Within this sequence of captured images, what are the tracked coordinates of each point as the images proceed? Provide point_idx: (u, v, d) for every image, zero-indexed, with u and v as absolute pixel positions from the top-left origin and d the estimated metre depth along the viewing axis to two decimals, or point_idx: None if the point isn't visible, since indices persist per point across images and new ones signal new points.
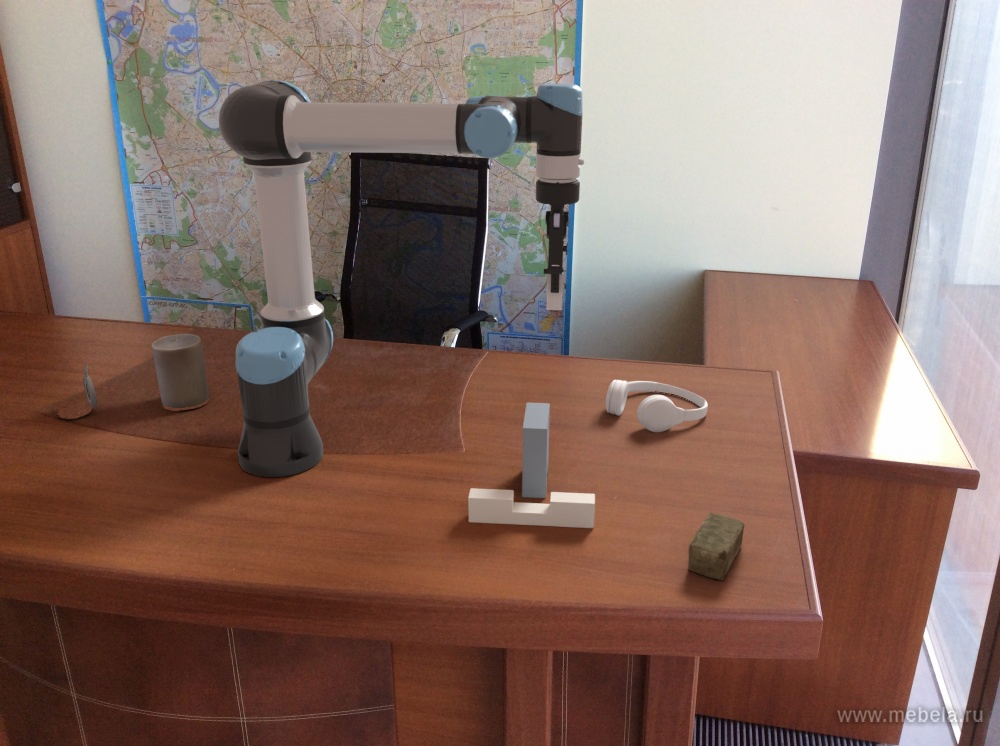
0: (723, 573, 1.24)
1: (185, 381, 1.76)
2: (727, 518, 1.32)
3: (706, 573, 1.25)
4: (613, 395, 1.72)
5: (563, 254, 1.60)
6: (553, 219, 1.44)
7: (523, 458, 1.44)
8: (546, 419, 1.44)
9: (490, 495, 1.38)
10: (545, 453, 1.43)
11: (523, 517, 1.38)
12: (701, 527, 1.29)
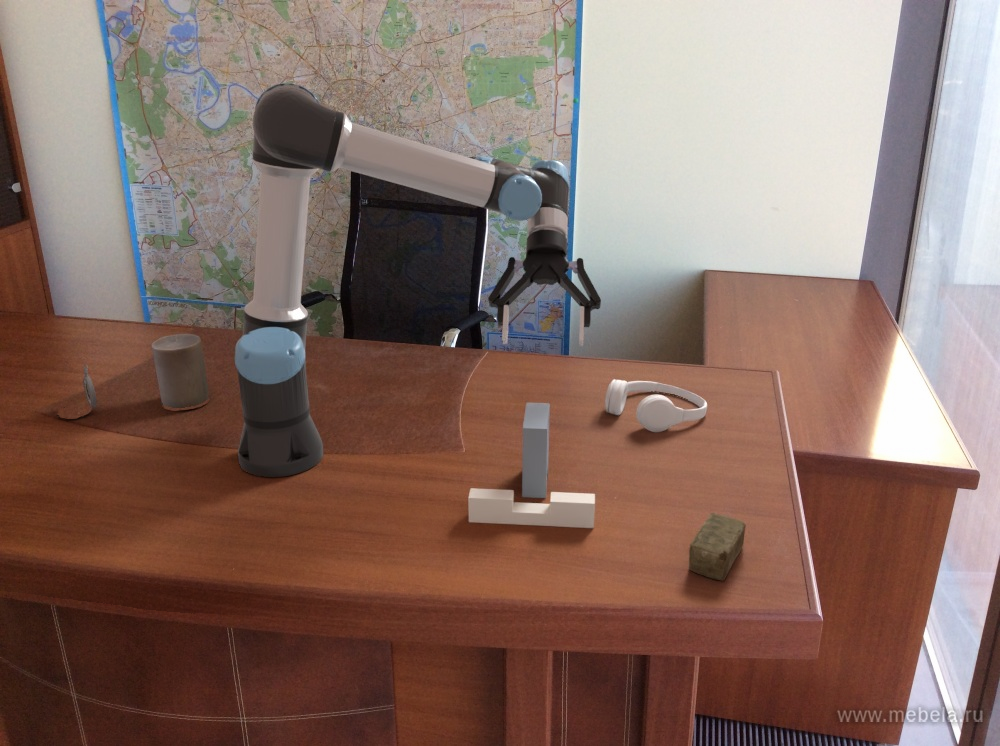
0: (724, 574, 1.24)
1: (185, 381, 1.76)
2: (728, 518, 1.32)
3: (707, 573, 1.25)
4: (612, 394, 1.73)
5: None
6: (583, 263, 1.59)
7: (523, 458, 1.44)
8: (546, 419, 1.44)
9: (490, 495, 1.38)
10: (545, 453, 1.43)
11: (523, 517, 1.38)
12: (702, 528, 1.29)
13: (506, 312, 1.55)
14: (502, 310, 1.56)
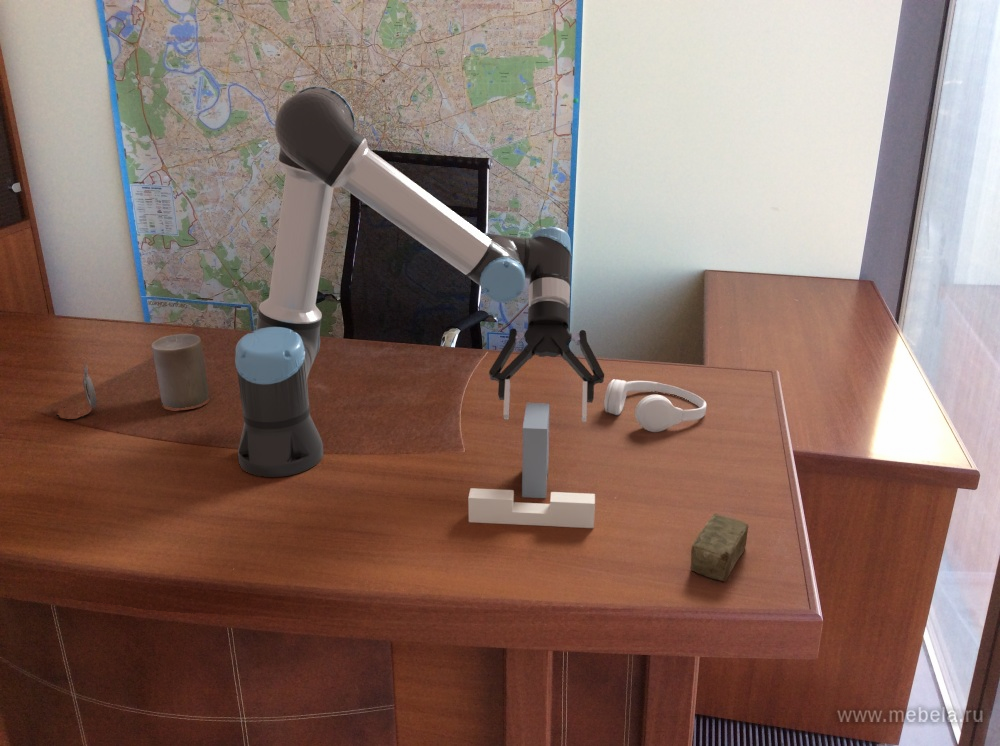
0: (725, 574, 1.24)
1: (185, 381, 1.76)
2: (731, 519, 1.32)
3: (708, 574, 1.25)
4: (611, 394, 1.73)
5: None
6: None
7: (523, 458, 1.44)
8: (546, 419, 1.44)
9: (490, 495, 1.38)
10: (545, 453, 1.43)
11: (523, 517, 1.38)
12: (704, 528, 1.29)
13: (507, 387, 1.52)
14: (503, 384, 1.53)
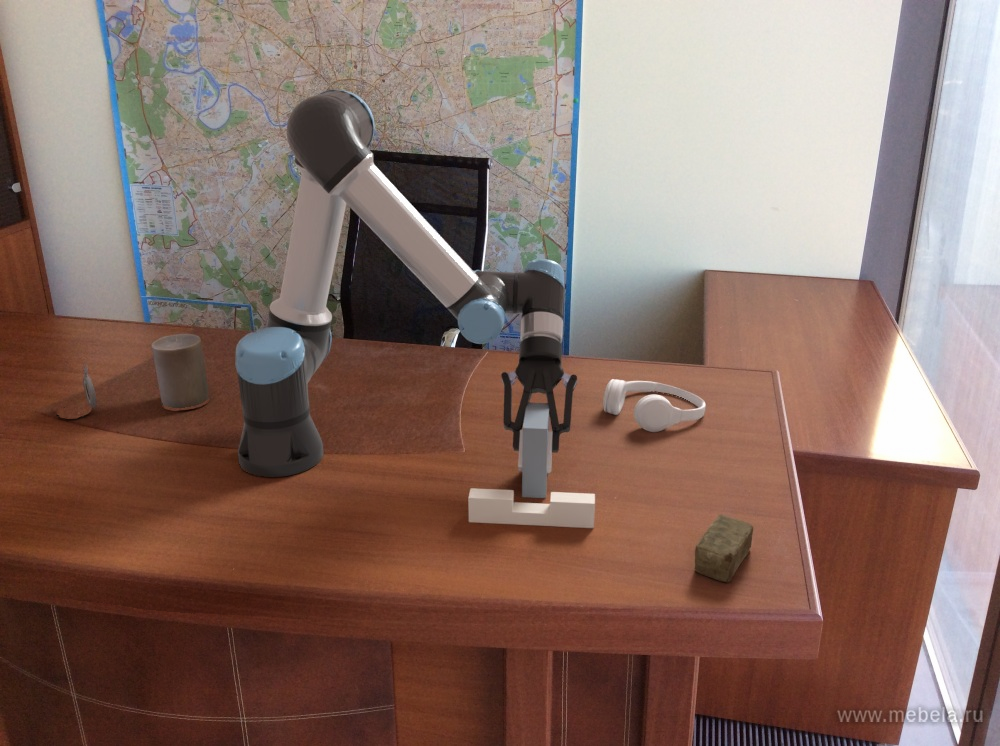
0: (729, 575, 1.24)
1: (185, 381, 1.76)
2: (736, 520, 1.31)
3: (712, 575, 1.25)
4: (610, 394, 1.73)
5: None
6: (576, 381, 1.50)
7: (523, 458, 1.44)
8: (546, 419, 1.44)
9: (490, 495, 1.38)
10: (545, 453, 1.43)
11: (523, 517, 1.38)
12: (709, 529, 1.29)
13: (522, 438, 1.46)
14: (518, 435, 1.47)
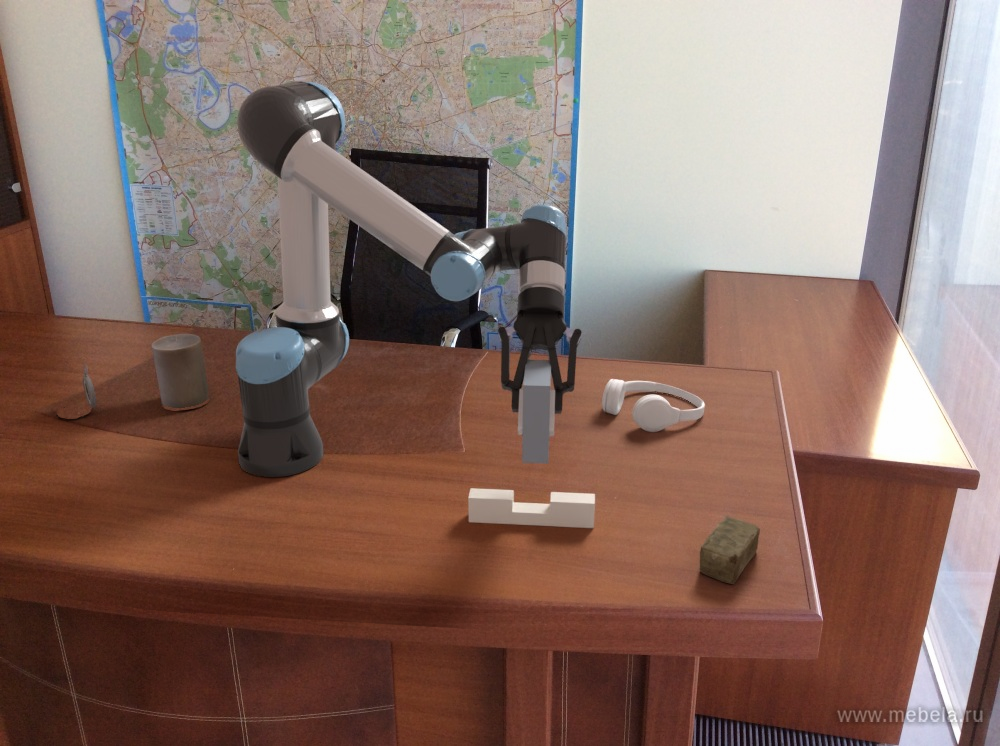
0: (734, 577, 1.23)
1: (185, 381, 1.76)
2: (742, 522, 1.31)
3: (717, 576, 1.24)
4: (609, 394, 1.73)
5: None
6: (580, 336, 1.37)
7: (523, 419, 1.30)
8: (548, 376, 1.31)
9: (490, 495, 1.38)
10: (548, 413, 1.29)
11: (523, 517, 1.38)
12: (715, 530, 1.29)
13: (522, 398, 1.33)
14: (517, 395, 1.34)
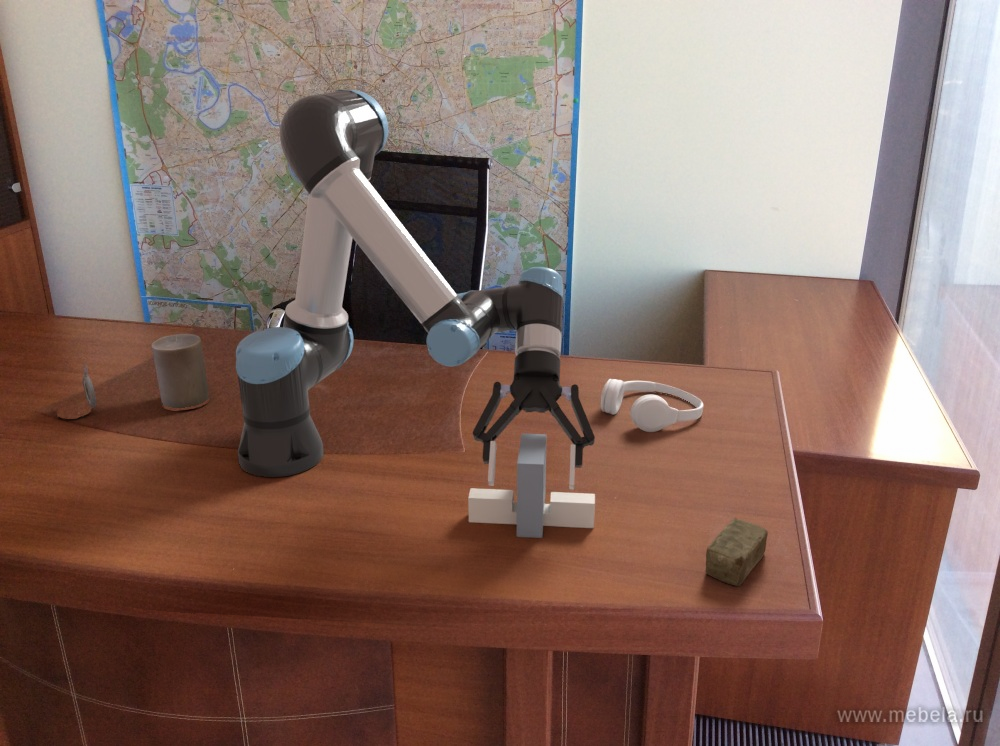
0: (739, 579, 1.23)
1: (185, 381, 1.76)
2: (750, 524, 1.30)
3: (722, 578, 1.24)
4: (608, 394, 1.73)
5: None
6: None
7: (517, 496, 1.33)
8: (542, 453, 1.33)
9: (490, 495, 1.38)
10: (541, 490, 1.32)
11: None
12: (722, 532, 1.28)
13: (493, 450, 1.36)
14: (488, 446, 1.36)
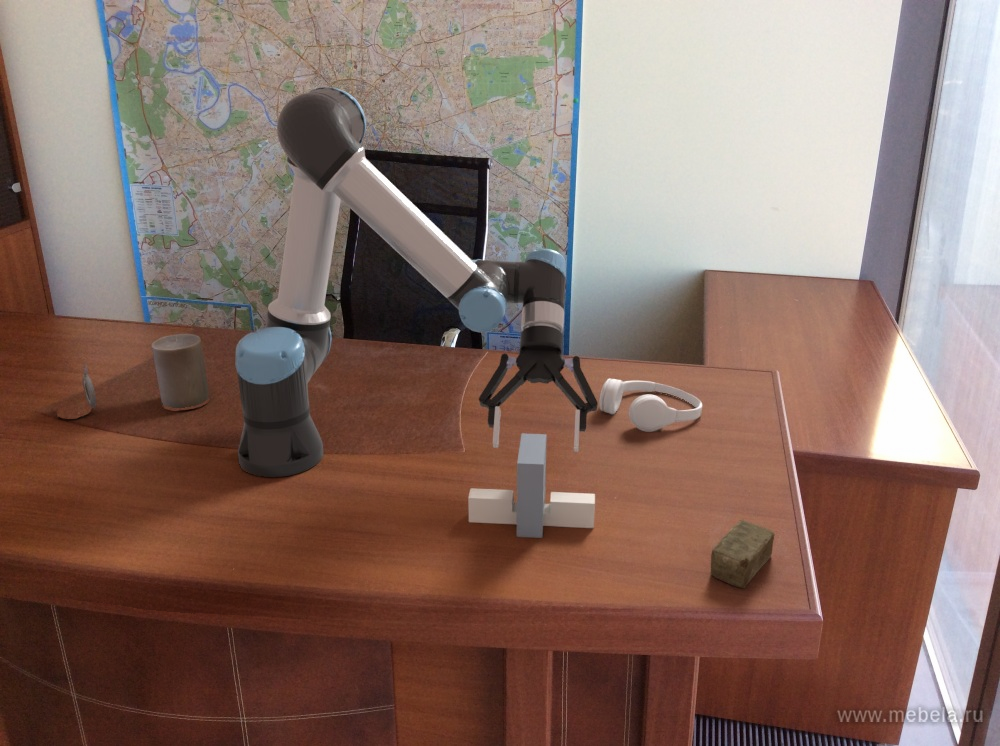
0: (744, 581, 1.22)
1: (185, 381, 1.76)
2: (757, 526, 1.30)
3: (727, 580, 1.24)
4: (606, 393, 1.73)
5: (500, 412, 1.50)
6: (579, 361, 1.50)
7: (517, 496, 1.33)
8: (542, 453, 1.33)
9: (490, 495, 1.38)
10: (541, 490, 1.32)
11: None
12: (728, 534, 1.28)
13: (497, 414, 1.47)
14: (493, 411, 1.48)
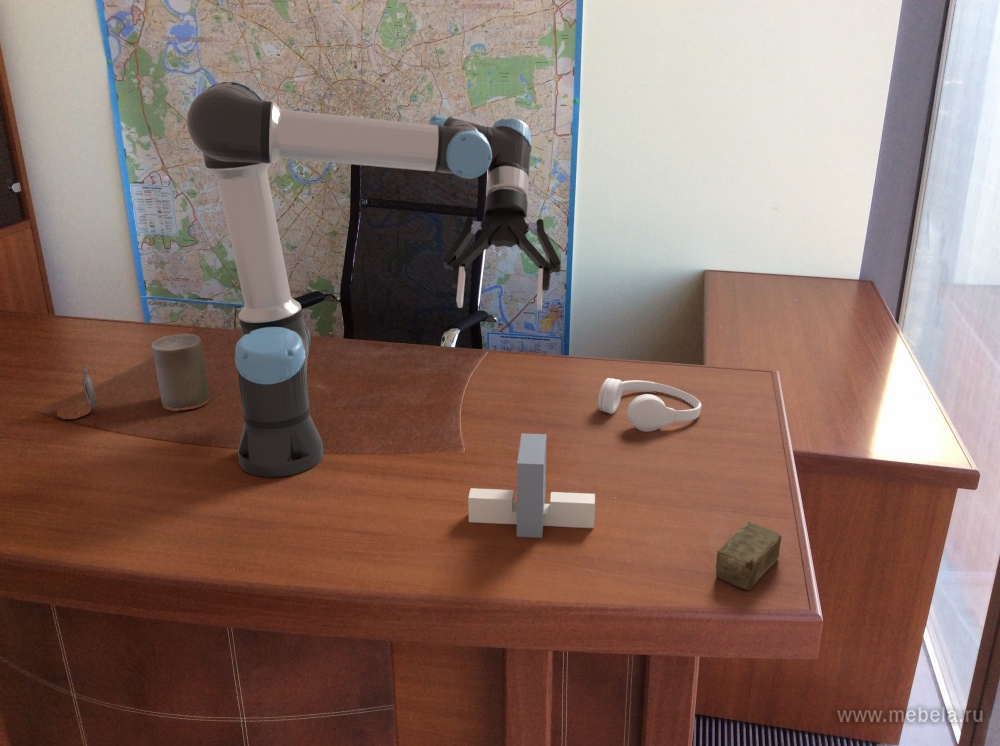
0: (749, 583, 1.22)
1: (185, 381, 1.76)
2: (764, 529, 1.29)
3: (732, 581, 1.23)
4: (605, 393, 1.73)
5: None
6: (543, 224, 1.52)
7: (517, 496, 1.33)
8: (542, 453, 1.33)
9: (490, 495, 1.38)
10: (541, 490, 1.32)
11: None
12: (734, 535, 1.27)
13: (461, 274, 1.48)
14: (457, 272, 1.49)
